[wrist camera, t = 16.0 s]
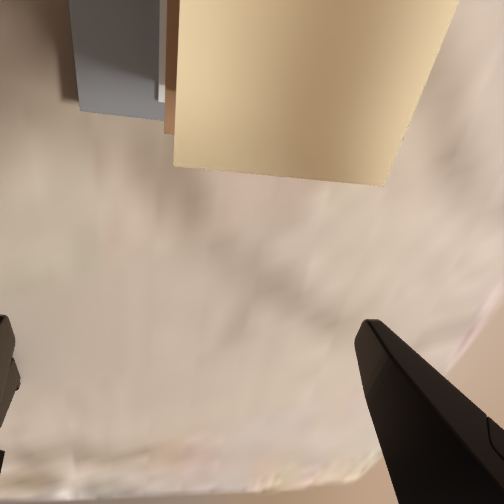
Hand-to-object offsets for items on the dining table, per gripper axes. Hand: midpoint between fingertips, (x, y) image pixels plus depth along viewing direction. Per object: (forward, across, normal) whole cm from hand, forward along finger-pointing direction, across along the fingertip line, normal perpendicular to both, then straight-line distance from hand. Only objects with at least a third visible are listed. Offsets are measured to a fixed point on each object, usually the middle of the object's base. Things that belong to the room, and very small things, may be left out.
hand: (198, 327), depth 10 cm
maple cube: (+6, -2, -6) cm, 9 cm away
